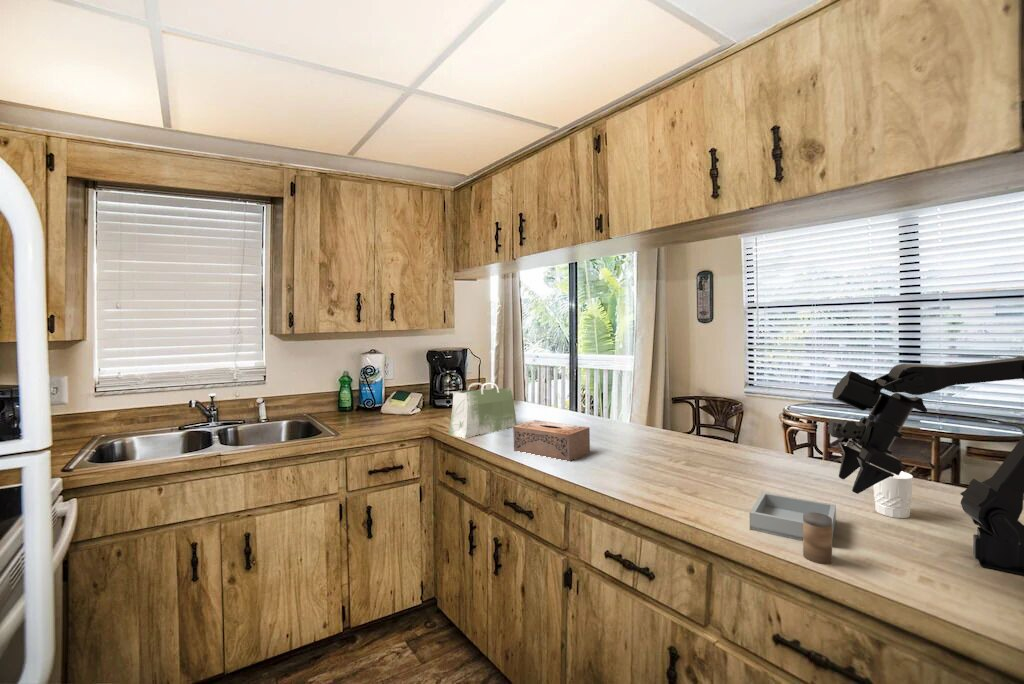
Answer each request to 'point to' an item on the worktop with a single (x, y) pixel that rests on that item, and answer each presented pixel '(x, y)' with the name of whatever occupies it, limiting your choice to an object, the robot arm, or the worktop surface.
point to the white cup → (894, 495)
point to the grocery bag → (481, 411)
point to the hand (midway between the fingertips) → (847, 485)
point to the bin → (786, 514)
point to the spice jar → (817, 537)
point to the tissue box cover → (552, 439)
